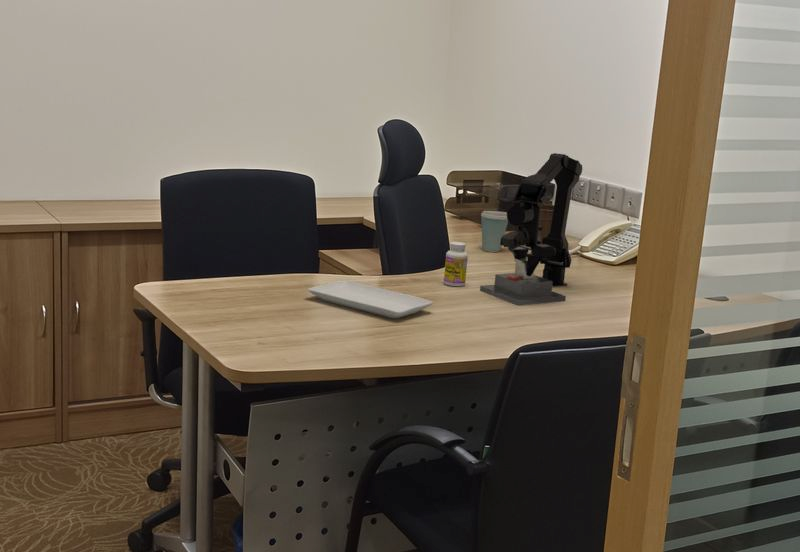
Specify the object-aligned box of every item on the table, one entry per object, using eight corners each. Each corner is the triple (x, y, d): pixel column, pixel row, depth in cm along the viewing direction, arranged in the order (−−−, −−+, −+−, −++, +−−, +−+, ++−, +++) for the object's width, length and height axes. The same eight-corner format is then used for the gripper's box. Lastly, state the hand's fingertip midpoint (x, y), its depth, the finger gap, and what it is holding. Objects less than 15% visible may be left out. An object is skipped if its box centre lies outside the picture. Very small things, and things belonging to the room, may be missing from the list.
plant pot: (518, 249, 353) (523, 207, 350) (525, 242, 368) (529, 202, 365) (561, 254, 349) (566, 211, 345) (566, 247, 364) (571, 206, 360)
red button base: (526, 287, 288) (528, 267, 287) (565, 301, 273) (567, 280, 272) (479, 290, 279) (481, 270, 277) (517, 305, 264) (520, 284, 263)
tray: (397, 324, 236) (398, 311, 235) (304, 299, 253) (305, 287, 253) (434, 313, 249) (435, 301, 248) (344, 291, 267) (344, 279, 266)
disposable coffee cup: (472, 248, 348) (476, 208, 344) (497, 247, 352) (500, 208, 349) (486, 253, 338) (490, 213, 335) (511, 253, 343) (515, 213, 340)
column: (525, 292, 279) (529, 257, 277) (534, 295, 276) (538, 260, 274) (509, 293, 276) (513, 258, 274) (518, 297, 273) (522, 261, 270)
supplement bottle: (439, 284, 283) (443, 243, 280) (448, 280, 289) (452, 240, 286) (459, 288, 280) (463, 246, 277) (468, 284, 286) (472, 243, 283)
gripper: (488, 217, 275) (483, 269, 278) (529, 228, 259) (523, 283, 263) (517, 216, 281) (512, 267, 284) (559, 227, 265) (553, 280, 269)
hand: (524, 274), depth 275 cm, fingers closed on column, 4 cm apart
